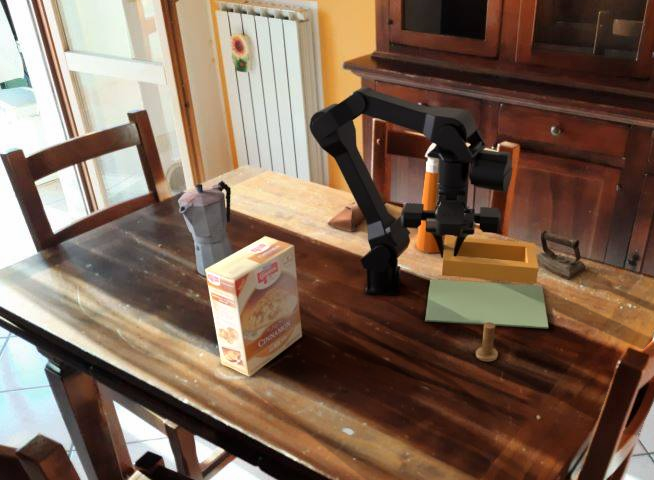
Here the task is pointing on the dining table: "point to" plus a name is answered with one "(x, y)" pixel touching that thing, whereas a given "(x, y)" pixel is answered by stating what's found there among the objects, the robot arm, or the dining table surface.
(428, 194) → the spray bottle
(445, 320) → the mat
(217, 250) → the moka pot
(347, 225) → the sunglasses case
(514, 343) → the dining table surface
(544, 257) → the clothes iron
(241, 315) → the coffeecake box
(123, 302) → the dining table surface
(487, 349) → the peg stand
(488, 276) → the rectangular frame
